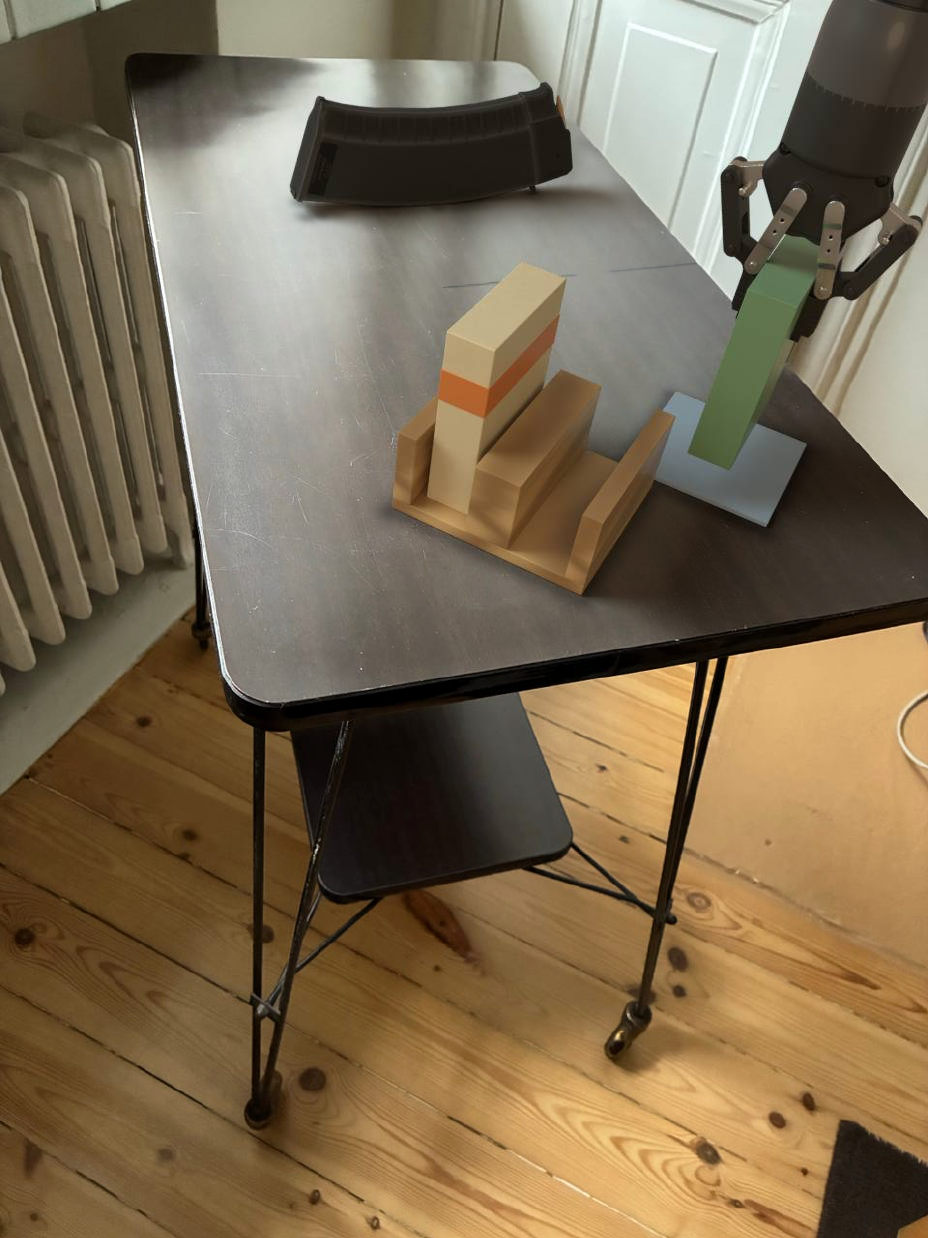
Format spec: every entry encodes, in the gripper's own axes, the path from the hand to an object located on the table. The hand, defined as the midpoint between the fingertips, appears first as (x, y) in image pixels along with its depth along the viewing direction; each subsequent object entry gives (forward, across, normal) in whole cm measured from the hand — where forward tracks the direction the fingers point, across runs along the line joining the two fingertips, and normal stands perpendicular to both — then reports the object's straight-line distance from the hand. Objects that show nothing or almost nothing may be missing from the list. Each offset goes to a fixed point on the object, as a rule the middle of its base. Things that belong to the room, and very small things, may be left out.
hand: (770, 325), depth 72 cm
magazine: (+13, -40, +23) cm, 48 cm away
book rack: (+12, -11, -14) cm, 22 cm away
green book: (+9, 0, 0) cm, 9 cm away
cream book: (+11, -15, -14) cm, 23 cm away
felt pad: (+12, 0, 0) cm, 12 cm away
